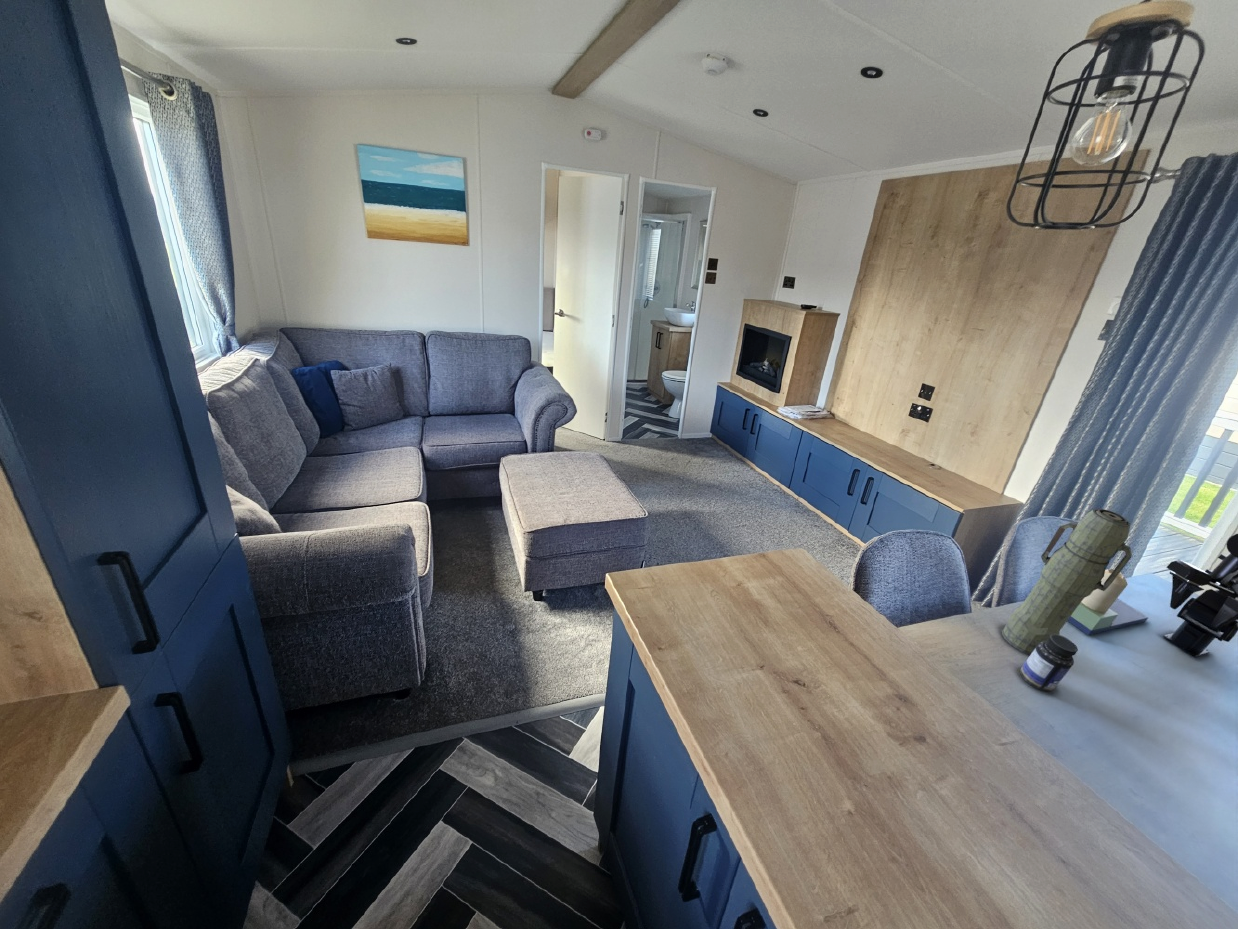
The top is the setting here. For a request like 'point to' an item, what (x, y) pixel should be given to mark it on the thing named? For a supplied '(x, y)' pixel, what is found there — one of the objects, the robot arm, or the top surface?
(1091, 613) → the stand
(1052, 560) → the thermos
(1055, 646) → the pill bottle
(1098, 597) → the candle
